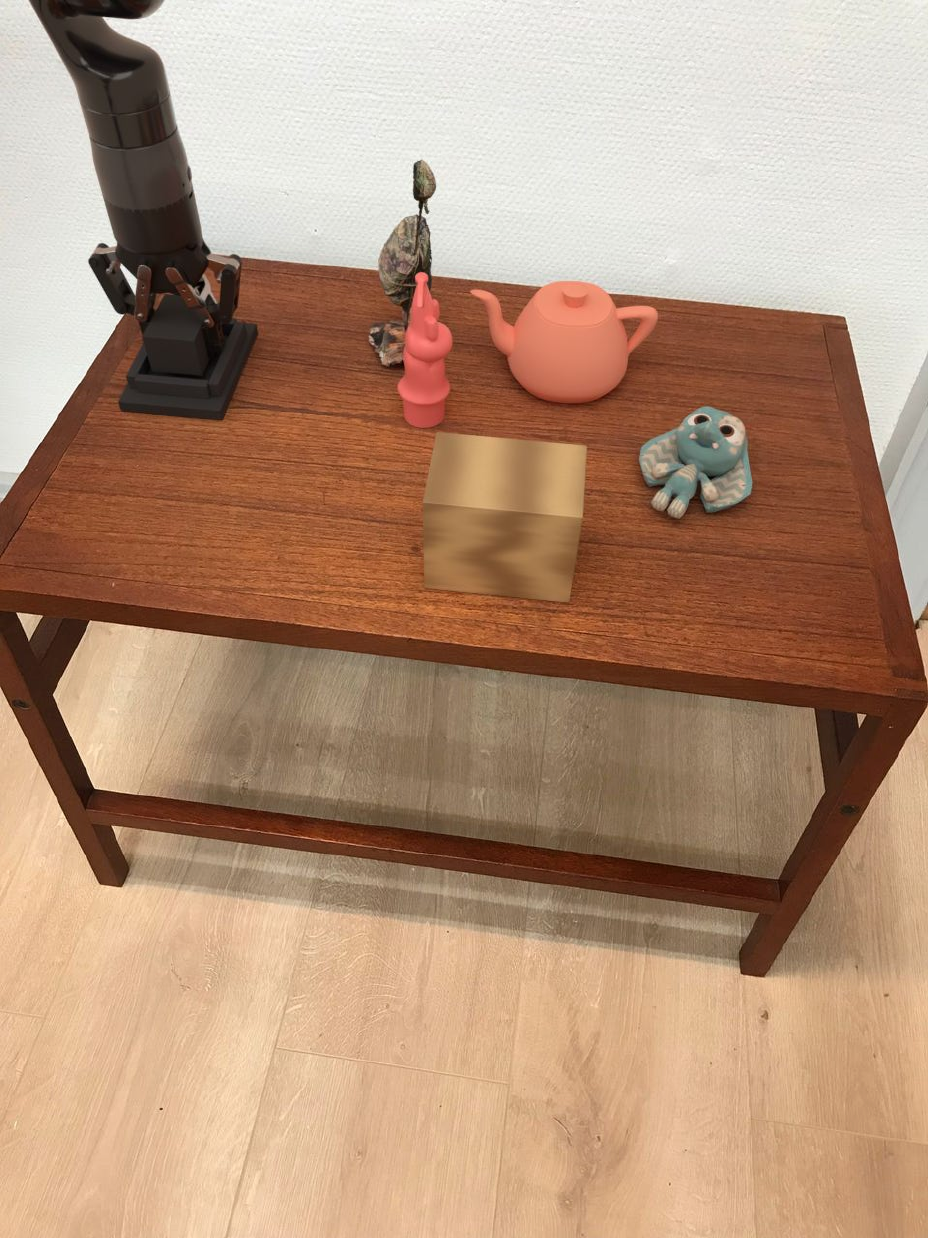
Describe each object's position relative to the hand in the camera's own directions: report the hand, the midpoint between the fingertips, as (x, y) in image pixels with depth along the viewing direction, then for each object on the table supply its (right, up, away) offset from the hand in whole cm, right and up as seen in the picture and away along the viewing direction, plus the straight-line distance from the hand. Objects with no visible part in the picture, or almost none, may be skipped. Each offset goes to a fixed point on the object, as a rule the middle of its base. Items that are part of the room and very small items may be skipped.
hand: (186, 350), depth 96 cm
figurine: (+23, -7, -2) cm, 25 cm away
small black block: (0, 0, 0) cm, 0 cm away
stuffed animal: (+48, -14, -7) cm, 50 cm away
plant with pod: (+21, +3, +6) cm, 22 cm away
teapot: (+37, -1, +3) cm, 37 cm away
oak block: (+30, -21, -13) cm, 39 cm away
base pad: (0, -1, +2) cm, 2 cm away
